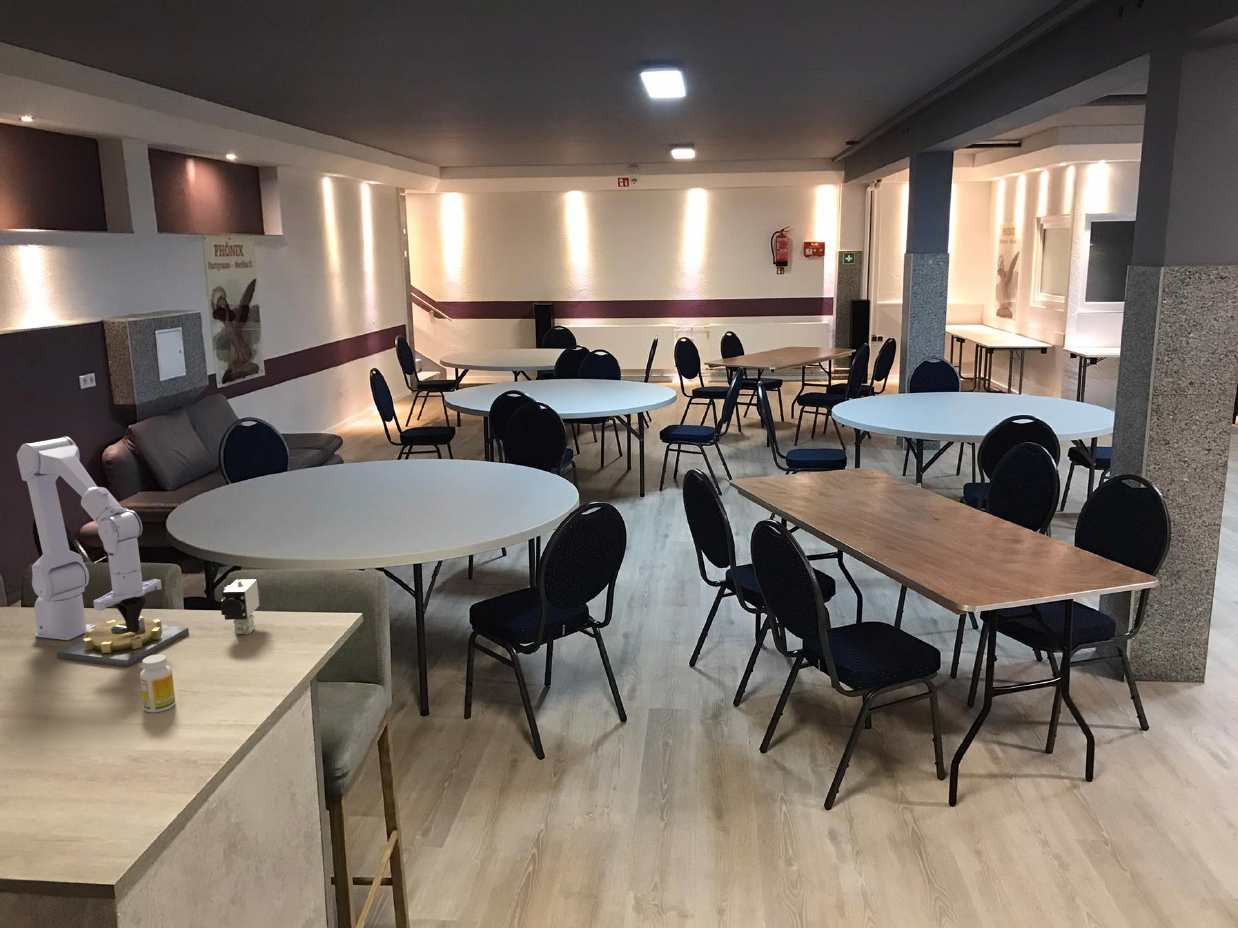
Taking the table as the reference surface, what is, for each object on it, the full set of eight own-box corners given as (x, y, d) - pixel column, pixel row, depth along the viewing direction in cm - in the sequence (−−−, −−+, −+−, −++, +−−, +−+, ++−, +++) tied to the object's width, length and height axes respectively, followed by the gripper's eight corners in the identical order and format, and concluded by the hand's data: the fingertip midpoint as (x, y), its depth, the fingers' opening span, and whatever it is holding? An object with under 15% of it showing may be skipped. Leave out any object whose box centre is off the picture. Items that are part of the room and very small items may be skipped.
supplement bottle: (138, 713, 177) (132, 664, 175) (152, 700, 182) (146, 652, 180) (167, 713, 177) (161, 664, 175) (180, 699, 182) (175, 652, 180)
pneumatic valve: (264, 621, 220) (259, 571, 217) (246, 641, 209) (241, 589, 206) (239, 622, 220) (234, 572, 217) (220, 642, 208) (215, 590, 206)
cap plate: (57, 658, 201) (56, 651, 201) (122, 626, 218) (121, 620, 218) (128, 667, 197) (127, 660, 196) (189, 633, 213) (188, 627, 213)
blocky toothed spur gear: (68, 646, 203) (65, 624, 202) (126, 621, 216) (123, 600, 215) (121, 656, 198) (118, 633, 197) (177, 630, 211) (174, 608, 210)
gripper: (107, 583, 192) (115, 646, 195) (168, 562, 205) (175, 622, 208) (83, 578, 195) (92, 641, 198) (145, 558, 208) (152, 617, 211)
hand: (133, 631), depth 203 cm, fingers closed
